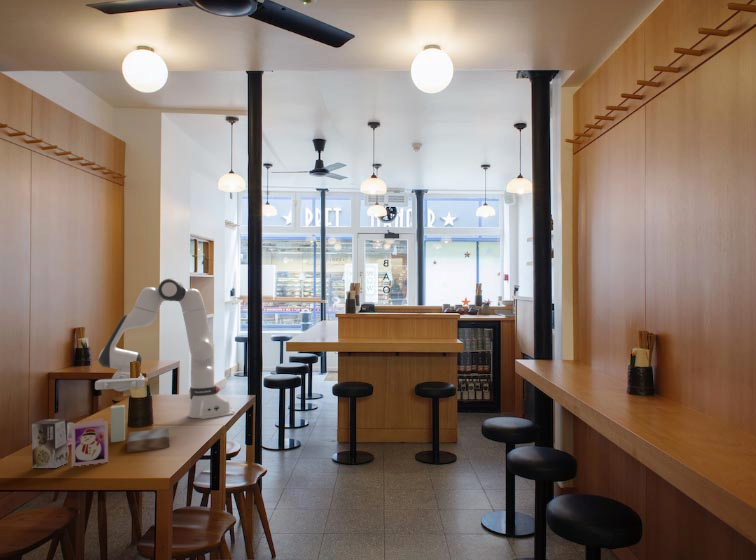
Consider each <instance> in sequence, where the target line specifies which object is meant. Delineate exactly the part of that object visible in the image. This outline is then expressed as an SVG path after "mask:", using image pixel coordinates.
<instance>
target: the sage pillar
mask: <svg viewBox="0 0 756 560" xmlns="http://www.w3.org/2000/svg"><path fill="white" fill-rule="evenodd" d="M125 440H126V404H119V405H118V404H117V405H111V407H110V443H117V442H118V443H119V442H124V441H125Z"/></svg>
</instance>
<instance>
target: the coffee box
mask: <svg viewBox="0 0 756 560" xmlns="http://www.w3.org/2000/svg"><path fill="white" fill-rule="evenodd" d="M67 423H68V418H43V419H42V420H41V419H40V420H38V421H36V422H33V423H31V437H32V438H31V441H32V442H31V447H32V450H31V451H32V455H31V456H32V468H33V467H35V468H57V467H59V466H61V465H63V466H65V465H64V464H66V463H67V464H68V457H67ZM67 464H66V465H67ZM61 467H62V466H61ZM59 468H60V467H59ZM57 469H58V468H57Z"/></svg>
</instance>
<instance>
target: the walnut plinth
mask: <svg viewBox="0 0 756 560" xmlns="http://www.w3.org/2000/svg"><path fill="white" fill-rule="evenodd" d="M169 430H170V429H169V428H167V427H166V428H165V427H164V428H157V429H149V430H140V431H130V432H129V433H128V437H127V445H126V447H127V448H126V449H127V451H126V452H127V453H132V452H139V451H147V450H156V449H161V448H163V449H164V448H170V431H169Z"/></svg>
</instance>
